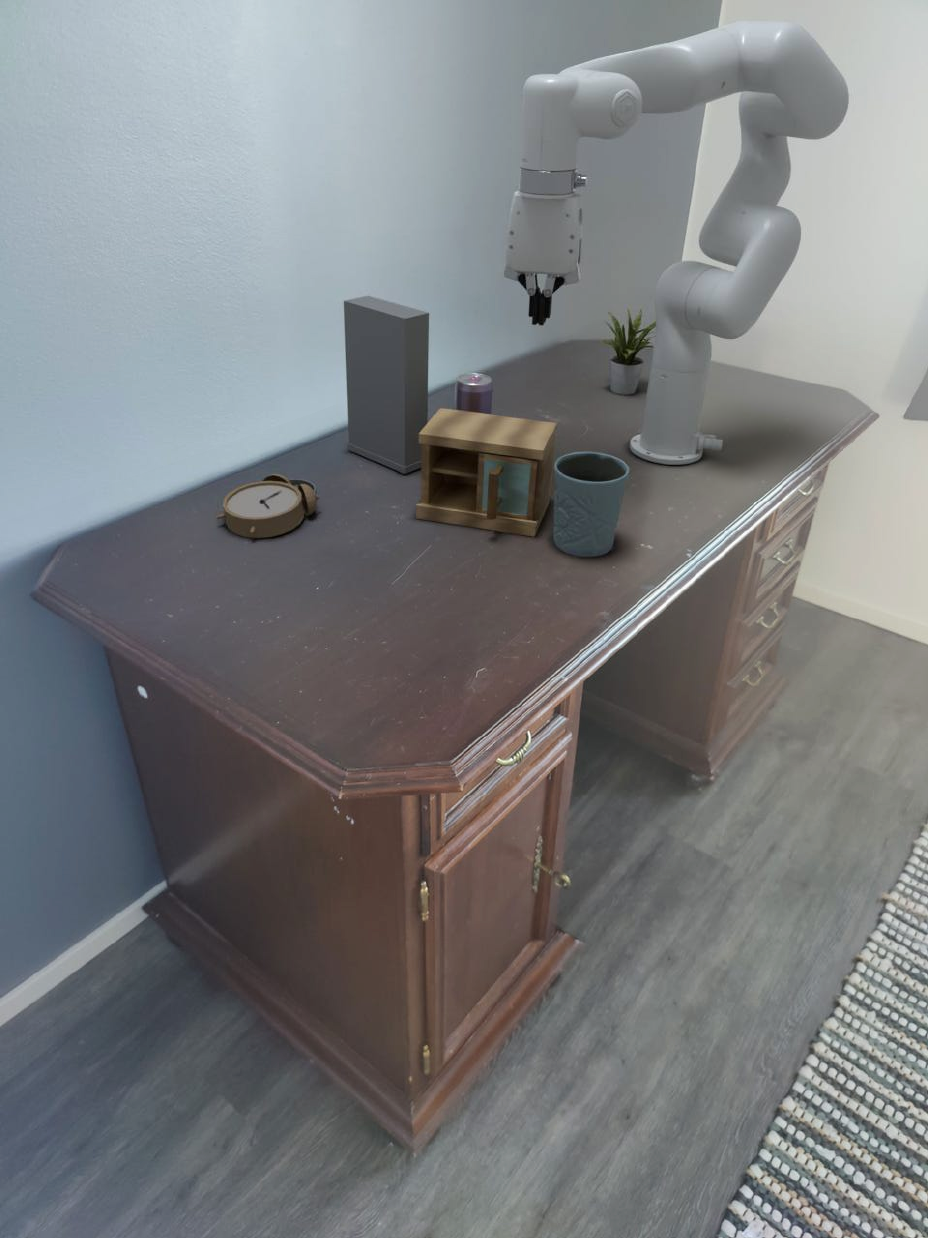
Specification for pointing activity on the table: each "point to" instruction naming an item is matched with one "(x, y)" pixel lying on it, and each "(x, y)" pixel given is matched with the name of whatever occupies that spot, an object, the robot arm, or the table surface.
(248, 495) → the alarm clock
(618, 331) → the house plant
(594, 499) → the blue-grey pot
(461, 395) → the beverage can
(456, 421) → the curio cabinet
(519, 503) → the cabinet door
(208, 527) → the table surface
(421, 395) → the cassette tape recorder
